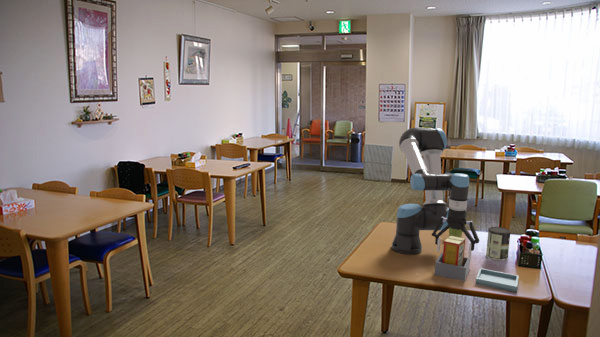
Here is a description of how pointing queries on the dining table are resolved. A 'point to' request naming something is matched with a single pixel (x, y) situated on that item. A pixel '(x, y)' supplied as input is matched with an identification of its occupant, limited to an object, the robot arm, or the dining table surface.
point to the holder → (452, 269)
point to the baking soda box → (454, 251)
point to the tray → (497, 280)
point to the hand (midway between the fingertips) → (453, 254)
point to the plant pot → (455, 232)
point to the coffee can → (498, 243)
